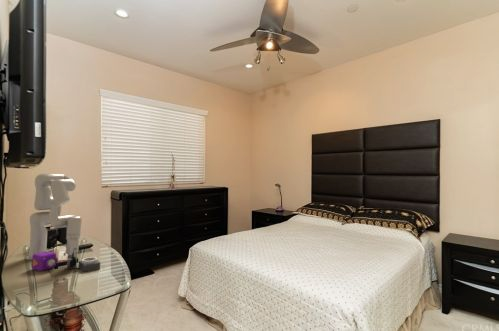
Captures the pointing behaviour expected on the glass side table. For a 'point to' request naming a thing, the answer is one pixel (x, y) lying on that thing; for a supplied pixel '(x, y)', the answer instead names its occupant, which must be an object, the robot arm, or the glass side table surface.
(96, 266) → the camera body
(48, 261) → the toy camera
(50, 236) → the movie camera
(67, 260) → the lens
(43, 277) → the glass side table surface
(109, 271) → the glass side table surface
